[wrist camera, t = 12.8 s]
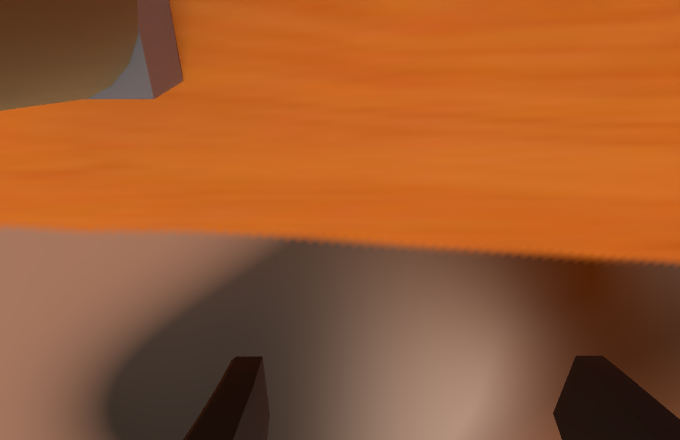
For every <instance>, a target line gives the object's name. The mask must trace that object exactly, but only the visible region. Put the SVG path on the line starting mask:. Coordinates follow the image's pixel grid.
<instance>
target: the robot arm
mask: <svg viewBox="0 0 680 440" xmlns="http://www.w3.org/2000/svg"><path fill="white" fill-rule="evenodd" d="M553 414H554V417H555V420H556V423H557V426H558V429H559V432H560V435H561V438H562V440H680V419H678V418H677V417H676V416H675V415H674V414H672V413H671V412H670V411H669V410H668V409H666V408H665V407H664V406H663V405H662V404H660V403H659V402H658V401H657V400H656V399H654V398H653V397H652V396H651V395H650V394H648V393H647V392H646V391H645V390H643V389H642V388H641V387H640V386H639V385H638V384H637V383H635V382H634V381H633V380H632V379H630V378H629V377H628V376H627V375H626V374H624V373H623V372H622V371H621V370H620V369H618V368H617V367H616V366H615V365H613V364H612V363H611V362H610V361H608V360H607V359H606V358H605V357H603V356H576V357H575V360H574V362H573V365H572V367H571V370H570V372H569V375H568V377H567V380H566V382H565V385H564V388H563V390H562V392H561V395H560V397H559V400H558V402H557V405H556V408H555V410H554V412H553ZM268 425H269V405H268V397H267V389H266V381H265V372H264V365H263V357H235V358H234V359H233V360H232V361H231V362H230V364H229V366H228V369H227V370H226V372H225V374H224V375H223V377H222V379H221V381H220V382H219V384H218V386H217V387H216V389H215V391H214V393H213V394H212V396H211V398H210V399H209V401H208V403H207V404H206V406H205V407H204V409H203V410H202V412H201V414H200V415H199V417H198V418H197V420H196V422H195V423H194V424H193V426H192V427H191V429H190V430H189V432H188V433H187V435H186V436H185V438H184V439H183V440H267V435H268Z"/></svg>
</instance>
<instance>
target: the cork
mask: <svg viewBox="0 0 680 440" xmlns="http://www.w3.org/2000/svg"><path fill="white" fill-rule="evenodd" d="M137 37H138V8H137V0H0V111H1V110H8V109H16V108H23V107H30V106H37V105H44V104H52V103H59V102H66V101H73V100H80V99H87V98H89V97H91V96H93V95H95V94H97V93H99V92H101V91H103V90H104V89H106V88H108V87H110V86H112V85H113V83H114V82H115V81H116V80H117V78H118V77H119V76H120V75H121V73H122V72H123V71H124V70H125V69H126V67H127V66H128V65H129V63H130V59H131V56H132V53H133V50H134V47H135V44H136V40H137Z"/></svg>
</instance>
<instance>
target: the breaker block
mask: <svg viewBox="0 0 680 440" xmlns="http://www.w3.org/2000/svg"><path fill="white" fill-rule="evenodd" d="M137 8H138V37H137V40H136V44H135V47H134V50H133V53H132V56H131V59H130V63H129V65H128V66H127V67H126V69H125V70H124V71H123V72H122V73H121V75H120V76H119V77H118V78H117V80H116V81H115V82H114V83H113V85H112V86H110V87H108V88H106V89H104V90H103V91H101V92H99V93H97V94H95V95H93V96H91V97H89V98H87V99H155V98H156V97H158V96H160V95H161V94H163V93H164V92H166V91H168V90H169V89H171V88H173V87H174V86H176V85H177V84H179V83H181V82H182V81H183V78H182V72H181V67H180V61H179V55H178V50H177V44H176V38H175V33H174V27H173V21H172V16H171V10H170V4H169V0H137Z"/></svg>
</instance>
